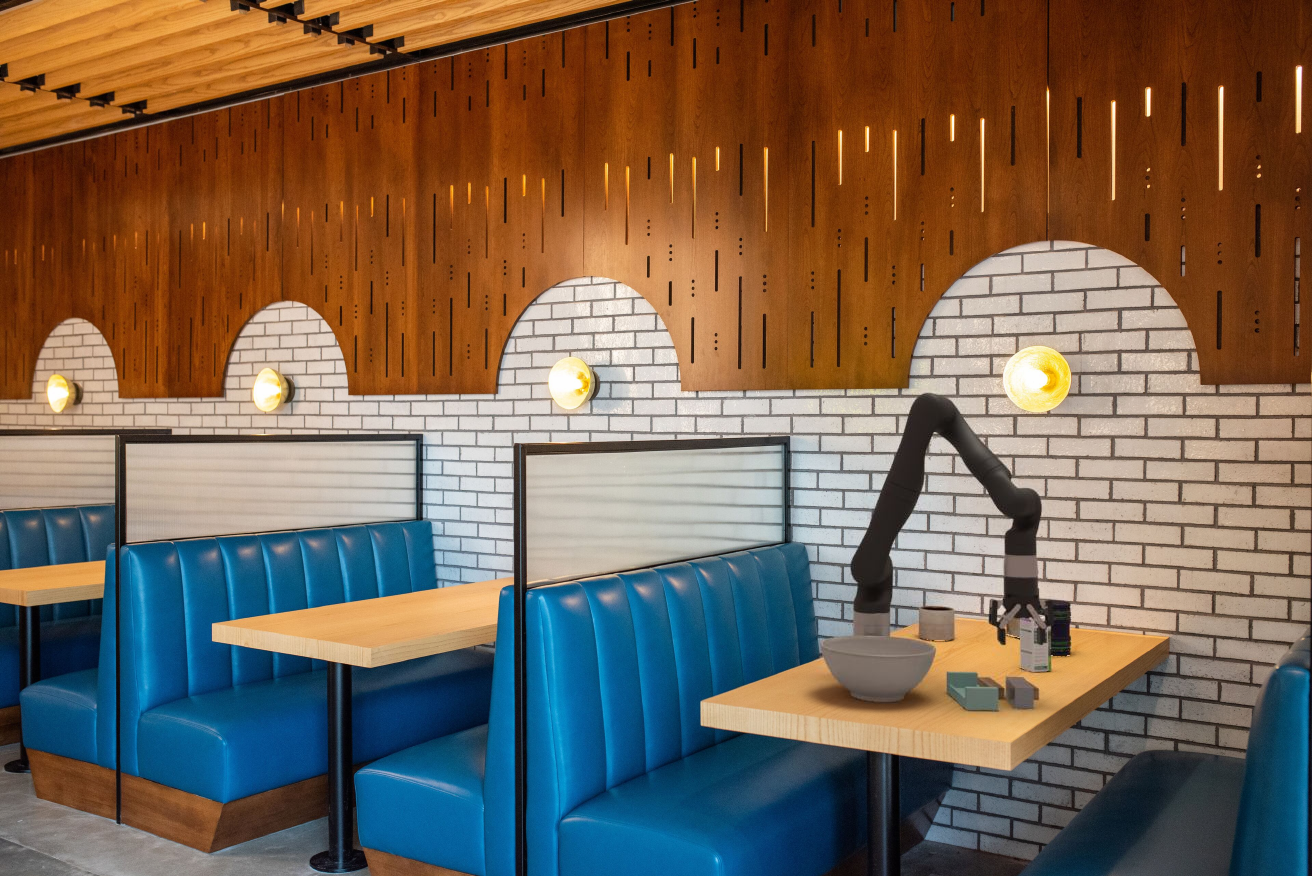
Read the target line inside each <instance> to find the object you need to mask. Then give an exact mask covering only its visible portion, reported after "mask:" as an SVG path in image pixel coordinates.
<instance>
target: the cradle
mask: <svg viewBox="0 0 1312 876" xmlns="http://www.w3.org/2000/svg"><path fill="white" fill-rule="evenodd" d="M978 675H979V674H978V672H977V671H946V694H948V695H949V696H950V697H951V696H952V697H953V698H954V699H955V700H954V699H953V700H954V701H955V702H956V703H957V704H959V705H960V706H961V707H962V708H963V707H964V708H965V710H966V711H967V710H993V711H992V712H999V699H998V688H997V687H980V686H978V677H979V676H978ZM952 697H951V698H952ZM964 708H963V709H964ZM995 710H996V711H995Z"/></svg>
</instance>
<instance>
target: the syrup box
mask: <svg viewBox="0 0 1312 876" xmlns="http://www.w3.org/2000/svg"><path fill="white" fill-rule="evenodd" d="M1039 616H1040V617H1041V619H1042V621H1045V616H1044V615H1039ZM1037 628H1038V626H1037V624H1036V623H1035V622H1034V620H1032V618H1029V619H1025V618H1020V639H1019V657H1020V658H1019V659H1020V660H1019V661H1020V669H1021V668H1022V670H1023V669H1025V670H1024V671H1026V670H1028V671H1027V672H1029V671H1031V672H1030V673H1033V672H1035V673H1042V672H1043V673H1045V672H1047V671H1051V672H1052V657H1051V626H1049V627H1047V628H1046V641H1045V642H1043V645H1039V644H1037ZM1047 673H1048V672H1047Z"/></svg>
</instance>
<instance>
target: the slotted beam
mask: <svg viewBox="0 0 1312 876" xmlns="http://www.w3.org/2000/svg"><path fill="white" fill-rule="evenodd" d="M1025 680H1026V681H1027V682H1028V683H1029V684H1030V685H1031V686H1032V687H1033V688H1034V700H1040V688H1039V687H1038V686H1036V685H1035V684H1032V683H1031V682H1030V681H1028V680H1027V679H1025ZM978 686H980V687H997V688H998V700H1005V699H1006V687H1004V686H1002V685H1001V684H1000V683H998V682H997V681H995V680H994V679H993V678H991V677H989V676H988V677H986V676H984V677H983V676H978Z"/></svg>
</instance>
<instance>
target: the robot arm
mask: <svg viewBox="0 0 1312 876" xmlns="http://www.w3.org/2000/svg"><path fill="white" fill-rule="evenodd" d="M934 433H936V434H938V435H939V436H941V437H942V438H943V439H944V440H946V441H947V442H948V443H949V444H950V445H951V446H952V447H953V448H954V449H955V451H957V453H958V455H959V456H960V459H961V460H962V462H963V465H965V466H966V468H967V470H968V471H969V473H970V474H972V476H973V477H974V478H975V479H976V480H977V481H978V483H980V484H981V486H983V488H984V489H985V490H986V491H987V493H988V495H989V497H990V498H991V500H992V502H993V505H995V507H996V509H997V510H998V511H999V512H1000V513H1001V514H1002V515H1004V516H1006V517H1007V518H1009V519H1012V524H1011V527H1010V528H1009V529H1007V530H1006V531H1005V533H1004V558H1003V598H1002V600H1001V599H994V598H990V599H989V604H988V605H989V606H988V624H989V625H990V626H991V625H992V627H993V626H994V627H996V635H997V637H996V638H997V639H996V640H997V641H998V642H999V644H1000V645H1002V646H1006V644H1007V635H1006V625H1007V623H1008V622H1010V621H1011V619H1012V618H1015V619H1020V618H1025V619H1029V618H1032V620H1034V622H1035V623H1036V624H1037V626H1038V628H1037V644H1039V645H1043V642H1045V641H1046V628H1047V627H1049V626H1053V625H1054V615H1053V602H1052V601H1051V600H1052V599H1049V598H1045V599H1040V598H1039V599H1038V588H1039V564H1038V558H1037V553H1038V552H1037V551H1038V550H1037V534H1038V531H1039V528H1040V523H1041V517H1042V512H1043V511H1042V509H1043V505H1042V500H1041V497H1040V494H1039V493H1038V492H1037V491H1036V490H1035V489H1032V488H1029V487H1017V486H1016V485H1015V484H1014V483H1013V481H1012V476H1013V475H1012V472H1011V470H1010V469H1009V468H1008V467H1007V465H1005V464H1004V462H1002V461H1001V460H1000V459H999V457H998V456H997V455H996V454H995V453H994V452H993V451H992V450H991V449H990V448H989V447H988V446H987V445H986V444H985V443H984V442H983V441H982V440H981V439H980V437H979V436H978V435H977V434H976V433H975V431H974V430H973V428H971V426H970V424H968V422H967V420H966V419H965V418H964V416H963V415H962V413H961V411H960V410H959V409H958V407H957V406H956V404H955V403H954V402H953V401H952V400H951V399H950V398H948V397H946V396H942V395H940V394H936V393H933V392H924V393H922V394H919V396H917V397H916V398H915V399H914V400H913V402H912V405H911V406H910V409H909V412H908V414H907V419H906V422H905V427H904V430H903V433H902V436H901V440H900V442H899V445H898V448H897V450H896V453H895V455H894V458H893V461H892V463H891V466H890V469H889V471H888V473H887V475H886V477H885V479H884V483H883V485H882V487H881V490H880V492H879V495H878V499H877V501H876V504H875V507H874V509H873V512H872V516H871V518H870V521H869V525H868V526H867V527H868V528H867V529H866V532H865V534H864V536H863V537H862V539H861V541H860V543H859V545H858V547H857V549H856V550H855V552H854V554H853V556H852V558H851V561H850V573H851V577H852V578H853V580H854V581H855V582H856V583H857V588H856V589H857V590H856V594H855V597H854V599H853V607H852V608H853V619H852V620H853V621H852V623H853V624H852V625H853V632H852V633H853V634H852V636H889V637H891V605H892V600H893V593H894V592H893V588H894V565H893V561H892V558H891V556H890V553H891V550H892V548H893V545H894V542H895V540H896V539H897V537H898V534H899V533H900V531H901V530H902V529H903V527H904V526H905V524H906V522H907V521H908V519H910V517H911V515H912V513H913V512H914V510H915V508H916V505H917V503H918V502H919V501H918V500H919V498H920V495H921V493H922V490H923V488H924V483H925V473H926V472H925V471H926V470H925V469H926V468H925V467H926V466H925V465H926V454H927V449H928V447H929V444H930V442H931V440H932V438H933V435H934ZM1040 605H1041V606H1042V608H1043V609H1044V613H1045V621H1042V619H1041V617H1040V616H1039V615H1038V613H1037V612H1036V610H1037V609H1038V607H1039V606H1040ZM1001 606H1002V607H1003V608H1004V609H1005V610H1004V611H1003V612H1002V614H1001V616H1000V618H999V619H998V611H999V609H1000V608H1001Z"/></svg>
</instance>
